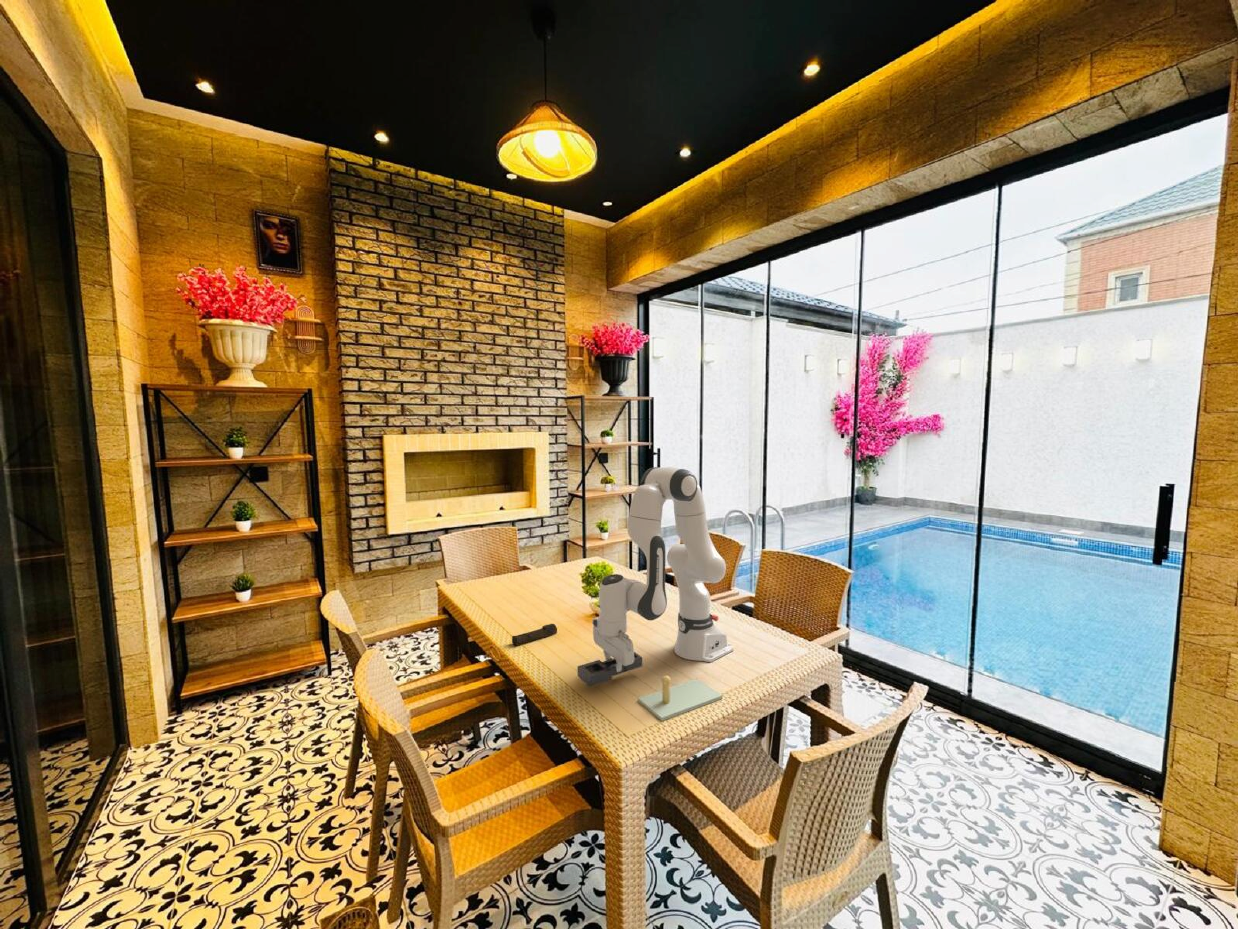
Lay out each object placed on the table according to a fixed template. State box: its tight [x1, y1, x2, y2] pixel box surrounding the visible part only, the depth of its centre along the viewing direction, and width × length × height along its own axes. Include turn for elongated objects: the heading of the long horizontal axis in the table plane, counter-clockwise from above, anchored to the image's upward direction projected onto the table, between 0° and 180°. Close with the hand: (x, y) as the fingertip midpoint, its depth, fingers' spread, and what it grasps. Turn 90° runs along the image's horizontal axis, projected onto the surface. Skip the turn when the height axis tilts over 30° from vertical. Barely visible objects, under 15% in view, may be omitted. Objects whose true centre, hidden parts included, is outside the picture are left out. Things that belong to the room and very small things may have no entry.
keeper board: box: [637, 675, 723, 722], centre depth 151 cm, size 23×12×9 cm, turn 121°
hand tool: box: [511, 623, 558, 647], centre depth 193 cm, size 19×4×5 cm, turn 126°
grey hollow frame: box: [577, 651, 643, 688], centre depth 161 cm, size 21×8×3 cm, turn 122°
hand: (613, 667), depth 162 cm, fingers closed on grey hollow frame, 4 cm apart
